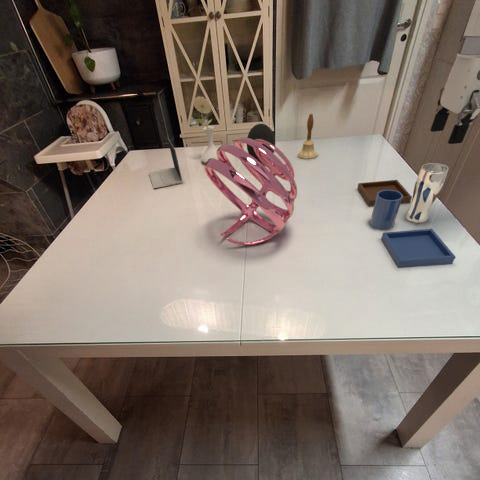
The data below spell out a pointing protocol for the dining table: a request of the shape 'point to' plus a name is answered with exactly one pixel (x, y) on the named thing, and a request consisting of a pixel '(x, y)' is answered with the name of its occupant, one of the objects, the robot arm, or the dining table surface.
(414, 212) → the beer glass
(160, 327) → the dining table surface
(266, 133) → the decorative egg
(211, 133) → the flower in vase
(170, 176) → the laptop
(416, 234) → the blue tray
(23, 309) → the dining table surface
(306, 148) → the hand bell
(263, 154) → the spiral basket
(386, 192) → the blue cup
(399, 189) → the walnut tray
